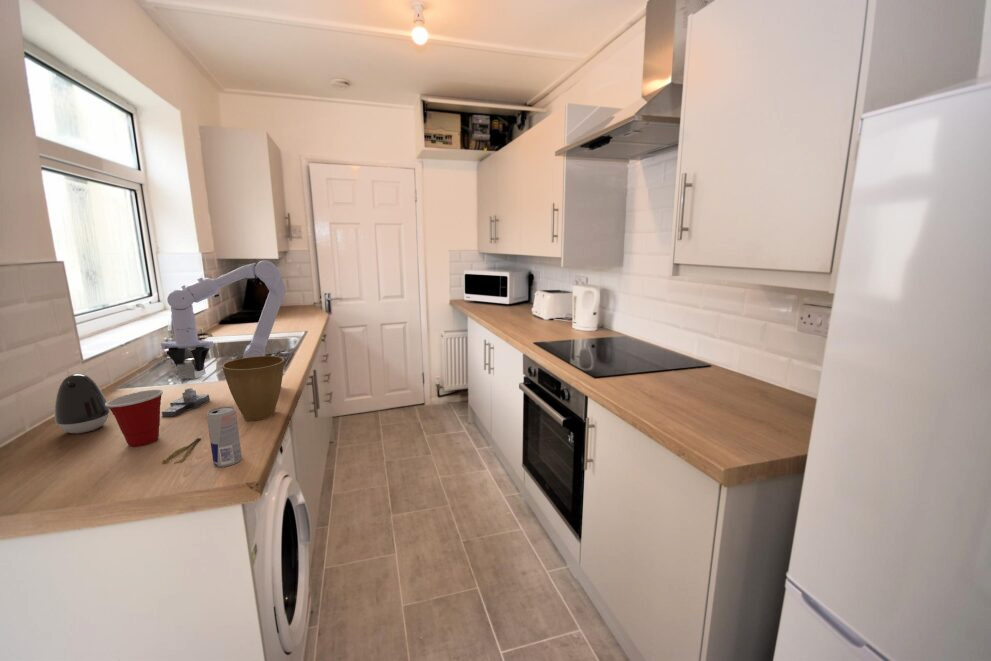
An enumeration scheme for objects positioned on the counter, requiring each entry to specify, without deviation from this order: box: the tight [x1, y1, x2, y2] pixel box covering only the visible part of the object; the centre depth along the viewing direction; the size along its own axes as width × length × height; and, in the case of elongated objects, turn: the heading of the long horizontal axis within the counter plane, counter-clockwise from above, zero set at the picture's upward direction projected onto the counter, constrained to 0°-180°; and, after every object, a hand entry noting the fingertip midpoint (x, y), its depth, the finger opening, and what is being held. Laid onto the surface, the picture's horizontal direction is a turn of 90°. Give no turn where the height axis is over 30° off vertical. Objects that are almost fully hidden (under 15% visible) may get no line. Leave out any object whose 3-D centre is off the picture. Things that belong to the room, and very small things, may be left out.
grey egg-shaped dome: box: [54, 373, 111, 434], centre depth 108 cm, size 10×10×15 cm
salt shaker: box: [185, 348, 194, 380], centre depth 155 cm, size 6×6×12 cm
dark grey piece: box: [161, 387, 211, 418], centre depth 124 cm, size 7×13×5 cm, turn 4°
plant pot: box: [222, 355, 285, 422], centre depth 116 cm, size 15×15×16 cm
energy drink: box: [206, 405, 243, 468], centre depth 91 cm, size 5×5×12 cm
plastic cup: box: [105, 389, 163, 448], centre depth 101 cm, size 11×11×12 cm
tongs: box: [161, 437, 201, 465], centre depth 97 cm, size 4×13×2 cm, turn 15°
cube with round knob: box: [176, 357, 206, 380], centre depth 131 cm, size 5×5×6 cm
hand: (191, 370), depth 131 cm, fingers closed on cube with round knob, 5 cm apart
